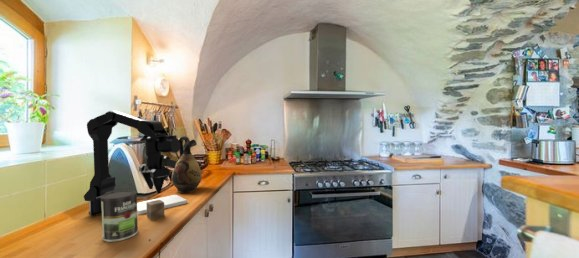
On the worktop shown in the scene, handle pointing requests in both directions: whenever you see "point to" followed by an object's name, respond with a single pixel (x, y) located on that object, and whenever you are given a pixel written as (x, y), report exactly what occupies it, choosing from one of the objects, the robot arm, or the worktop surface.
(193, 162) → the ceramic jug
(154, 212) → the walnut block
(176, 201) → the chopping board
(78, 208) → the worktop surface
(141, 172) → the robot arm
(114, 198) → the coffee can
